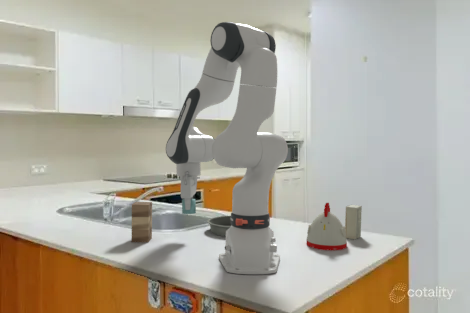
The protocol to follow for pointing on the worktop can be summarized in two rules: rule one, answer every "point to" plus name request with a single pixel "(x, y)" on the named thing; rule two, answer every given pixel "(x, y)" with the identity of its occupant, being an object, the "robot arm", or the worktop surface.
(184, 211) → the teal cube
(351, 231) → the skincare box
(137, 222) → the tower block
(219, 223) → the cake pan
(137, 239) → the tower block
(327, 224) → the kitchen timer
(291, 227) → the worktop surface
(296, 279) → the worktop surface
